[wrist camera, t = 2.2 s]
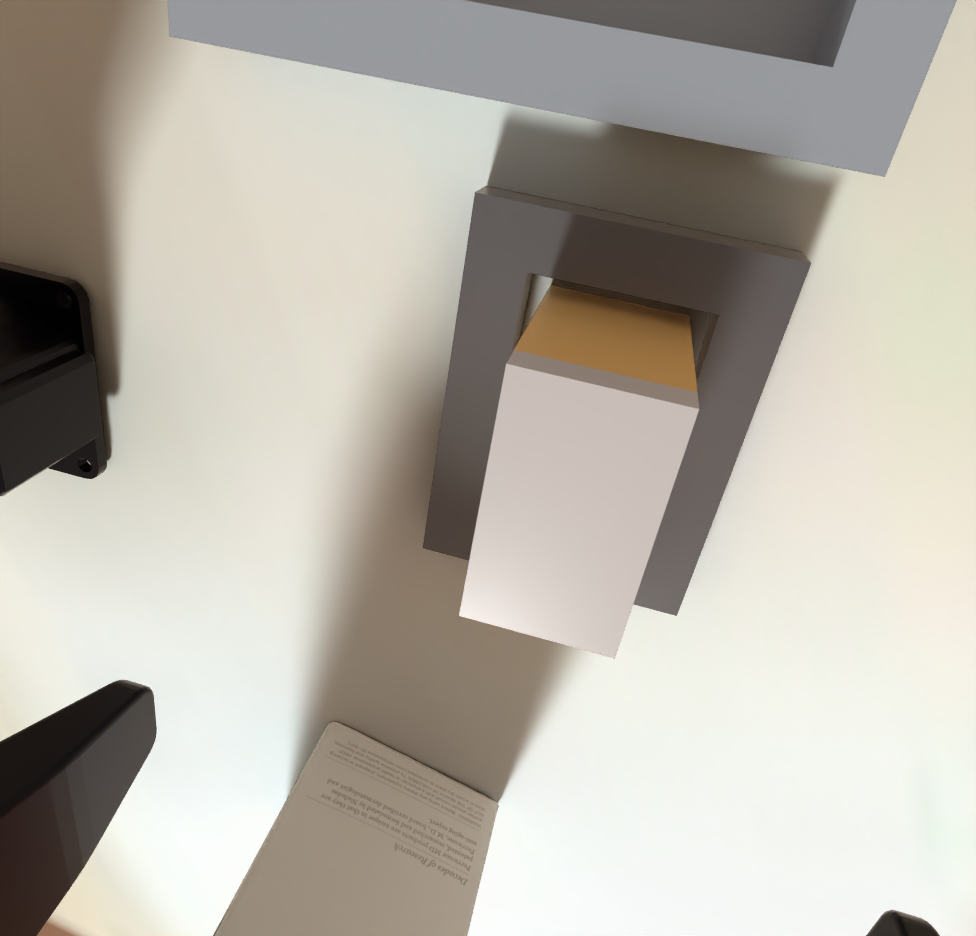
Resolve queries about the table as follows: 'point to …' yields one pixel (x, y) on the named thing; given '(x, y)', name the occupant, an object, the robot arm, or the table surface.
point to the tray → (628, 60)
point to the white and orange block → (580, 468)
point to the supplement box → (366, 849)
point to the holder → (633, 271)
